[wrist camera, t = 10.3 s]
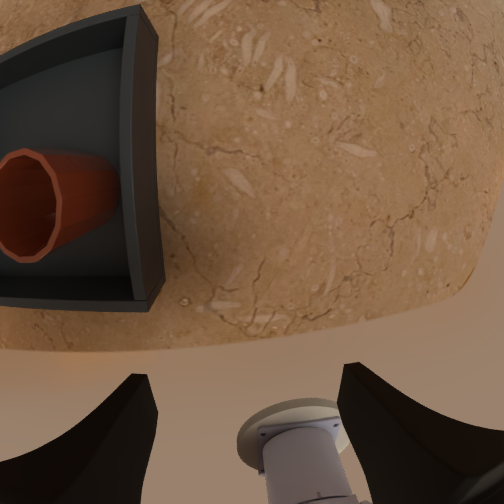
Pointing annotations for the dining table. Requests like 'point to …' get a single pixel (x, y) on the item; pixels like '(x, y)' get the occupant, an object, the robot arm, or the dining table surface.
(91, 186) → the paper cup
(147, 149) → the bin
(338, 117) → the dining table surface
